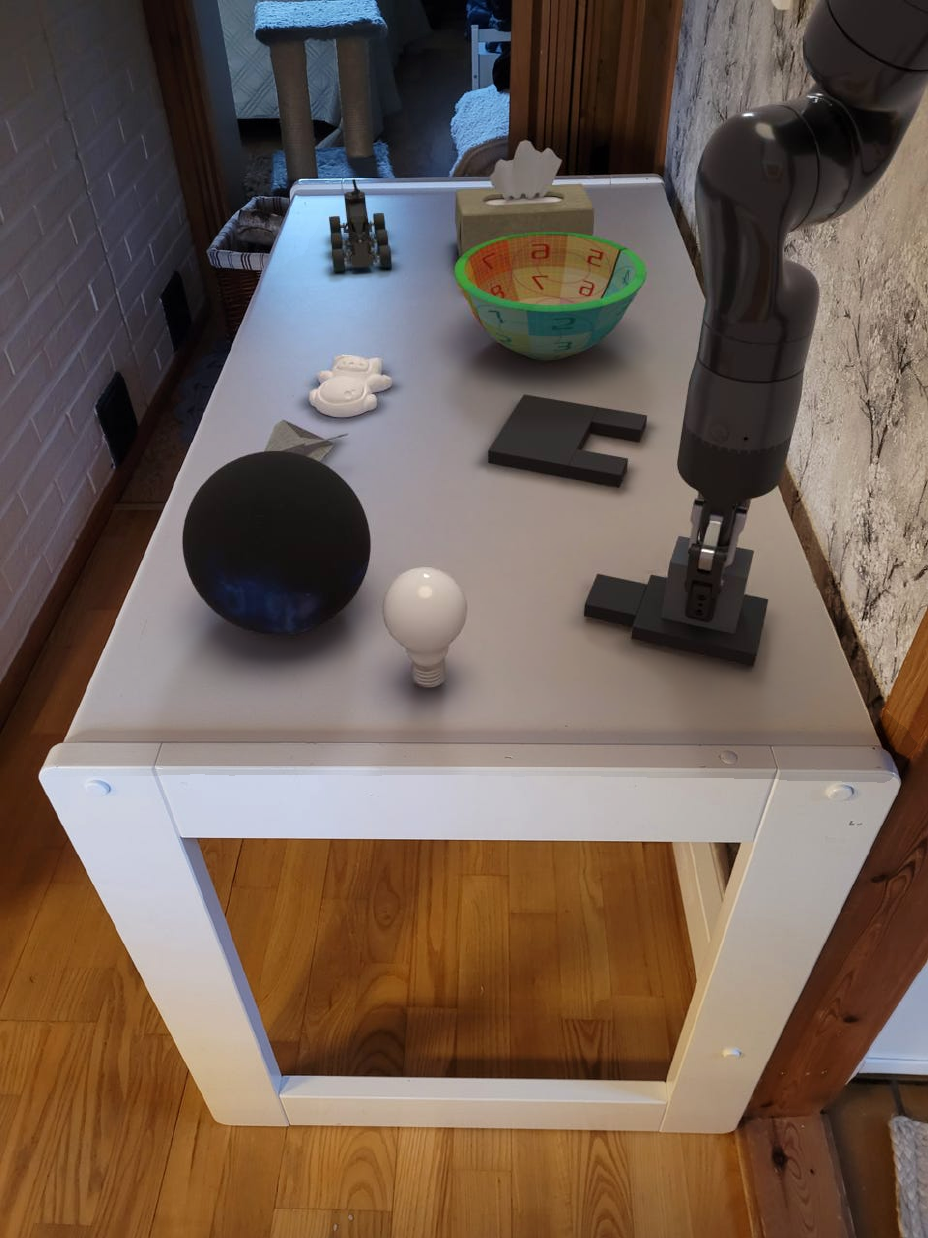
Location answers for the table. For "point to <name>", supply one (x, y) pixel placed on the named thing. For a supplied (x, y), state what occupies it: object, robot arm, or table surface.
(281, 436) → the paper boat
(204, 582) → the decorative sphere
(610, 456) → the notch pad
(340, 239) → the toy vehicle
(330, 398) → the white bear figurine
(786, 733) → the table surface
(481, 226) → the tissue box
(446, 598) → the lightbulb
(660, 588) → the pad
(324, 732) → the table surface
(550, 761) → the table surface
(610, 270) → the bowl
